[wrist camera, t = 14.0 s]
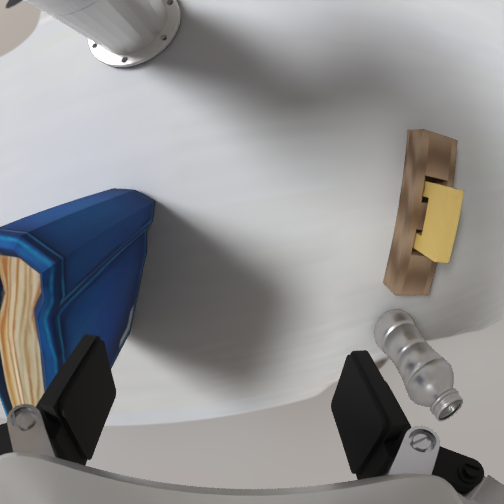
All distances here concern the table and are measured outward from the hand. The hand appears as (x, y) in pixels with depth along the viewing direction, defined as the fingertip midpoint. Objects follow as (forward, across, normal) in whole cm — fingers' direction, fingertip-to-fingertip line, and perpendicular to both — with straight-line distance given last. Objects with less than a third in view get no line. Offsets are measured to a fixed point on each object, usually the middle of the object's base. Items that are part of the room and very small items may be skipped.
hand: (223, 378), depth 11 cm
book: (+28, +15, +7) cm, 33 cm away
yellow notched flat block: (+28, -25, -3) cm, 38 cm away
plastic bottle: (+28, -25, +15) cm, 41 cm away
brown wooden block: (+28, -25, -3) cm, 38 cm away
